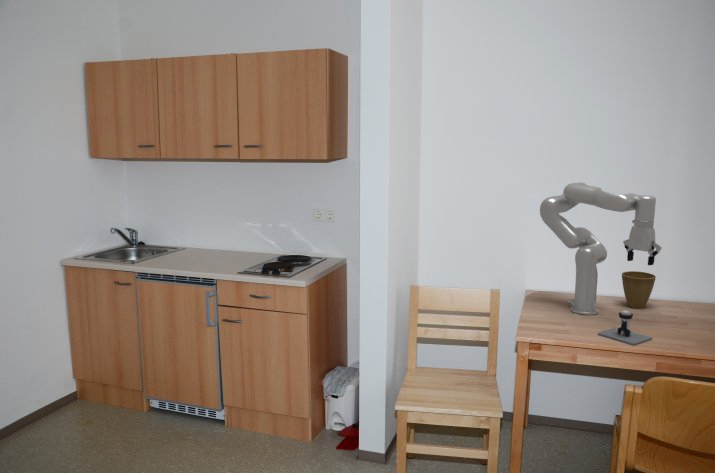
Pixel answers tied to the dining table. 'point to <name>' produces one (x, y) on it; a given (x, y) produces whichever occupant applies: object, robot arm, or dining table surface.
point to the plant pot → (637, 287)
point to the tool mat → (631, 340)
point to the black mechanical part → (625, 323)
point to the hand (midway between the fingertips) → (640, 262)
